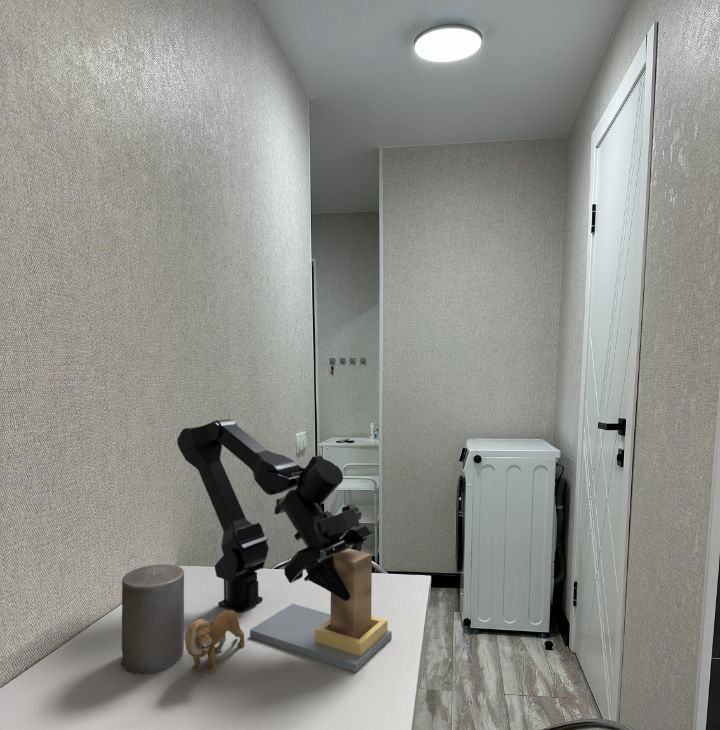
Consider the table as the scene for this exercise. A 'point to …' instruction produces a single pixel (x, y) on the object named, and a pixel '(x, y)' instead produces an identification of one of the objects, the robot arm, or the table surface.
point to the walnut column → (352, 594)
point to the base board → (321, 637)
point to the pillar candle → (152, 618)
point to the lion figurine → (211, 637)
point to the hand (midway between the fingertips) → (357, 593)
